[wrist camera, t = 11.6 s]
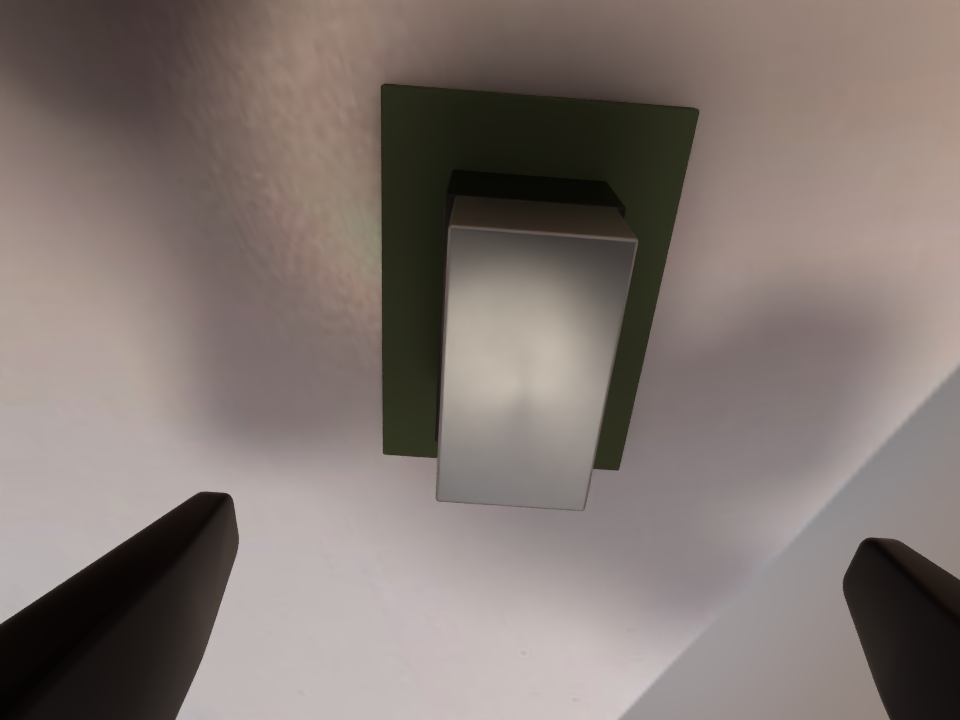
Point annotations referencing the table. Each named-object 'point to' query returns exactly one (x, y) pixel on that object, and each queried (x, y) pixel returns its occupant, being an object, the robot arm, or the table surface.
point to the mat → (522, 151)
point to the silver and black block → (527, 335)
